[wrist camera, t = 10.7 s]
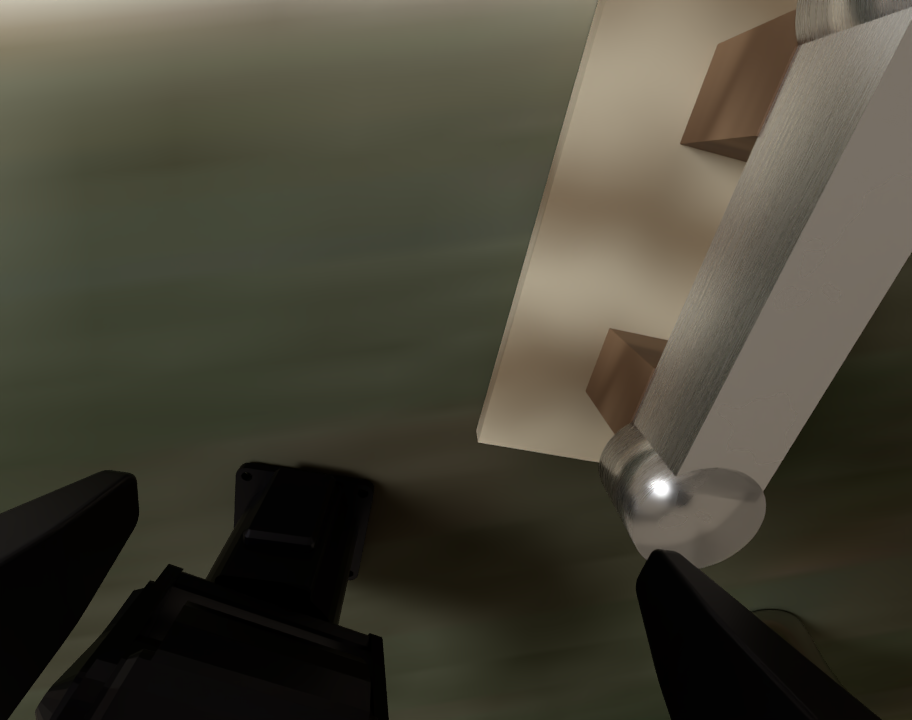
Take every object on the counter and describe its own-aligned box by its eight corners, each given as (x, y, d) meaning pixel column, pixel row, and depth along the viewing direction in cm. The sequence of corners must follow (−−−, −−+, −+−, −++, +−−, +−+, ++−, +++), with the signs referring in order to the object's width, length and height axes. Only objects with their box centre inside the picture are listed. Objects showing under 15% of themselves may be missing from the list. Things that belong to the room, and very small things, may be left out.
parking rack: (684, 466, 22) (749, 542, 18) (476, 430, 21) (487, 503, 16) (933, -13, 15) (1158, -96, 10) (631, -118, 13) (734, -269, 9)
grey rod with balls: (680, 511, 17) (727, 577, 14) (583, 495, 16) (613, 561, 14) (1004, -88, 10) (1217, -185, 7) (854, -146, 10) (1023, -272, 7)
